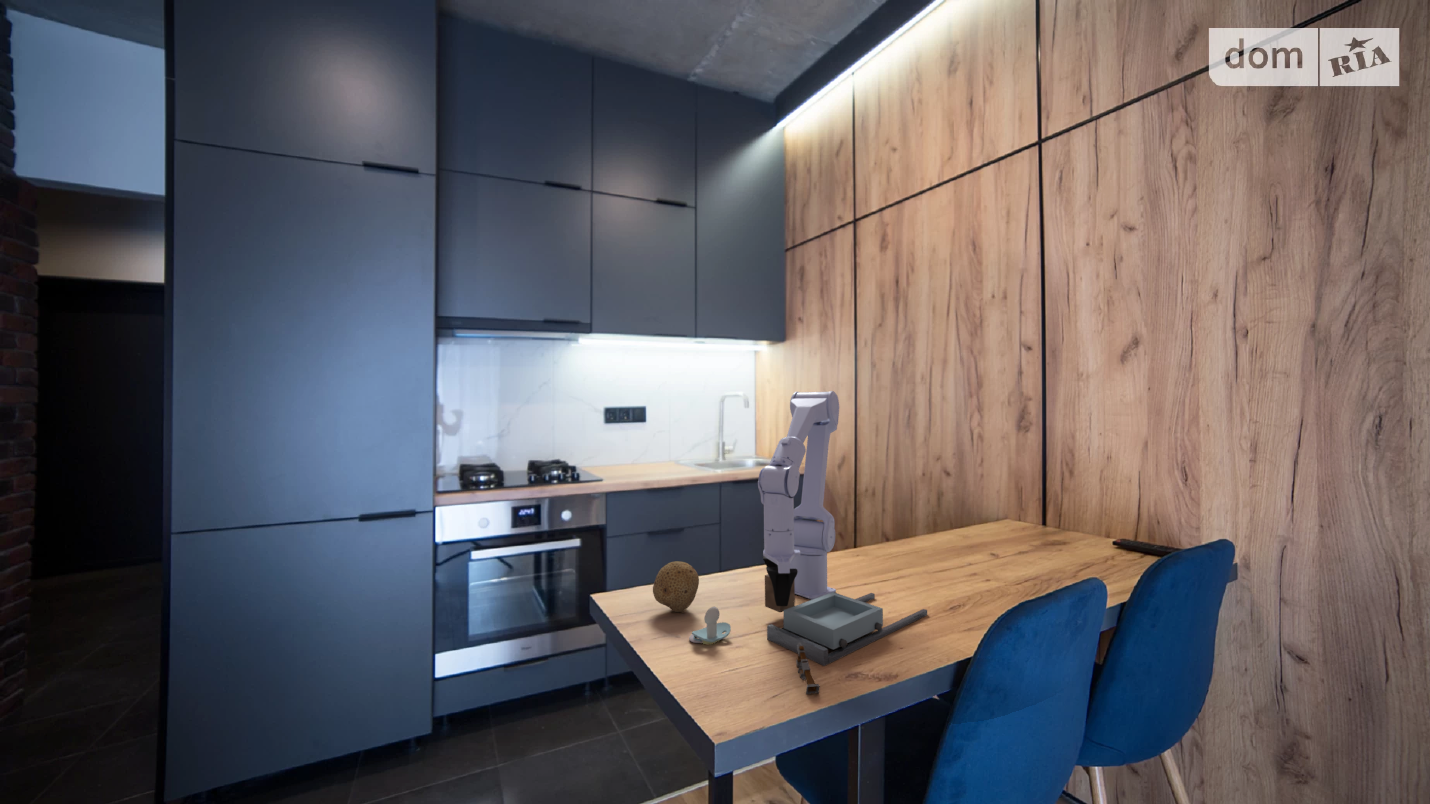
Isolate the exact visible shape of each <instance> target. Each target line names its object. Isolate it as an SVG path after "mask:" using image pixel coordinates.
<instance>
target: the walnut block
mask: <svg viewBox="0 0 1430 804" xmlns="http://www.w3.org/2000/svg"><path fill="white" fill-rule="evenodd" d="M795 595H796V594H795V583H794V581H793V584H792V587H791V592H790V597H789V602H788V606H776V602H775V598H774V592H773V586H772V582H771V579H770V577H769V575H768V573H767V574H765V575H764V607H765V608H768V609H770V610H773V611H775V612H778V613H780V614H781V613H784V610H785V609H788V608H791V607H794V606H796V605H795V604H796V603H795V602H796V597H795Z"/></svg>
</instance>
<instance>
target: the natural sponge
mask: <svg viewBox="0 0 1430 804" xmlns="http://www.w3.org/2000/svg"><path fill="white" fill-rule="evenodd" d="M699 577H700V576H699V574H698V572H697V571H696V569H695V568H694V567H693V566H692V565H691V564H689V563H687V562H685V561H680V560H679V561H678V560H677V561H675V560H674V561H671V562H668V563H666V564H665V565H664V566H663V567H661V568H660V570H658V573H657V574H656V576H655V580H654V581H653V582H654V583H653V586H652V594H653V596H654V599H655V601H657V602H658V603H659V604H660V605H662V606H666V607H668V608H669V609H670V610H671V611H672V612H676V613H682V612H684V611H686V610H687V609H688V608H689V607H690V606H691V605H692V603H693V602H694V600H695V597H696V595H697V593H698V589H699V585H700V578H699Z"/></svg>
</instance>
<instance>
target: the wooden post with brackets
mask: <svg viewBox="0 0 1430 804" xmlns="http://www.w3.org/2000/svg"><path fill="white" fill-rule="evenodd" d="M797 650H798V654H797V658H796V662H795V663H796V664H795V665H796V668H797V670H798V671H797V673H798V674H799V676H800V677H799V678H800V679H802V680H803V681H806V682H805V683H806V691H805V694H806V695H811V693H813V694H819V693H820V688H821V687H820V686H821V685H820V683H816V682H815V680H814V677H813V675H812V673H811V667H810V664H809V659H808V658H806V656H805V649H804V645H802V644H801V643H798V644H797Z"/></svg>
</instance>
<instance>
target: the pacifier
mask: <svg viewBox="0 0 1430 804" xmlns="http://www.w3.org/2000/svg"><path fill="white" fill-rule="evenodd" d="M719 618H720V609H719V608H718V607H717V606H711V607H709V608H708V609H707V611H706V612H705V615H704V623H705V624H706V627H703V628H701V629H697V630H694V631H692V632H691V635H689V637H688V640H689V641H690V642H691V643H695V644H702V643H703V644H702V645H704V644H710V645H713V644H712V643H714V644H716V643H715V642H717V641H718V642H720V640H723V639H725V638H727V637H728V636H729V635H730V632H731V628H732V626H731V625H730V623H728V622H723V621H722V622H718V620H719ZM695 637H696V638H695ZM718 642H717V643H718Z"/></svg>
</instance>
